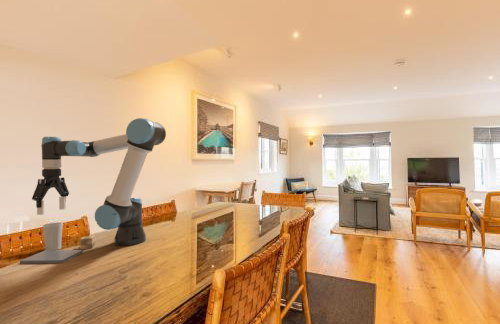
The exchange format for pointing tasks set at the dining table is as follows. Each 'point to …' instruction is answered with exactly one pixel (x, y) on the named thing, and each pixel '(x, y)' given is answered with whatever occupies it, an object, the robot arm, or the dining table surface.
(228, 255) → the dining table surface
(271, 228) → the dining table surface
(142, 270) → the dining table surface
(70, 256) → the slate board
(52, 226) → the cup
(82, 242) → the oak cube
